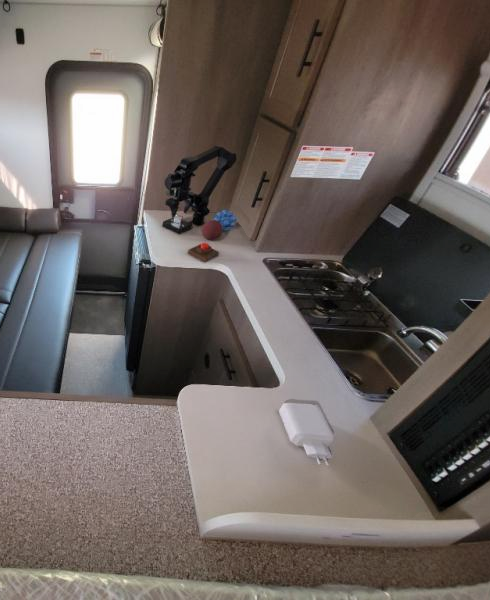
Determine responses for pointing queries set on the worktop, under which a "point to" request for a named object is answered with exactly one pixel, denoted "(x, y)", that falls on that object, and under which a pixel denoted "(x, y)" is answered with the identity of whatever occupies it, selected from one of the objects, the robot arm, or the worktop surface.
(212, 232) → the decorative ball
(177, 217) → the dial
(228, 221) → the blue bumpy cluster
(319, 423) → the charger
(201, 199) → the robot arm
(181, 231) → the dial panel
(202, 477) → the worktop surface
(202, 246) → the power button
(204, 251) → the block
